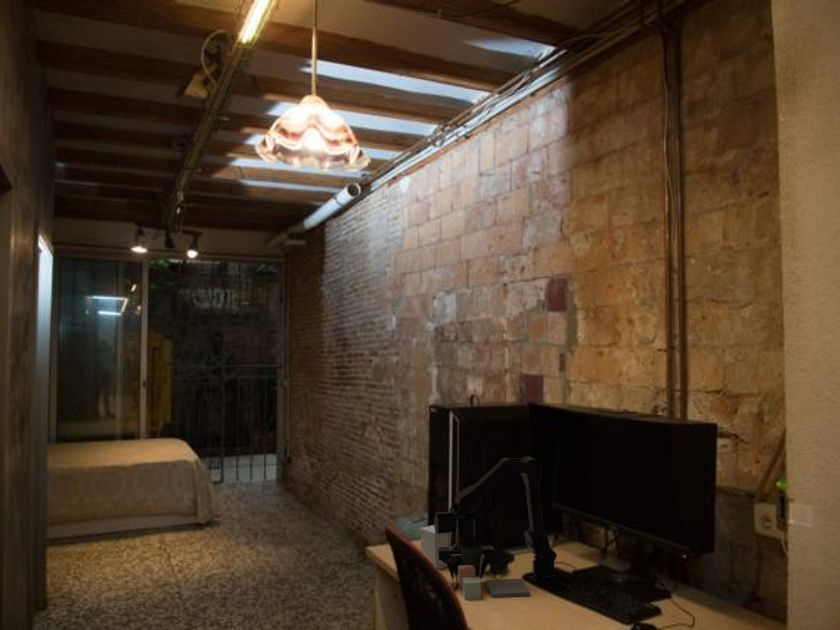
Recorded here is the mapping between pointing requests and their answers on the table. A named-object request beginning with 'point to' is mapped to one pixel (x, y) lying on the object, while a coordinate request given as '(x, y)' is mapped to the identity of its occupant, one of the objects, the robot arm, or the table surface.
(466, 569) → the terracotta brick
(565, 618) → the table surface
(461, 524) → the robot arm
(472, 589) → the sage brick
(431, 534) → the small box
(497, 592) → the tower base
